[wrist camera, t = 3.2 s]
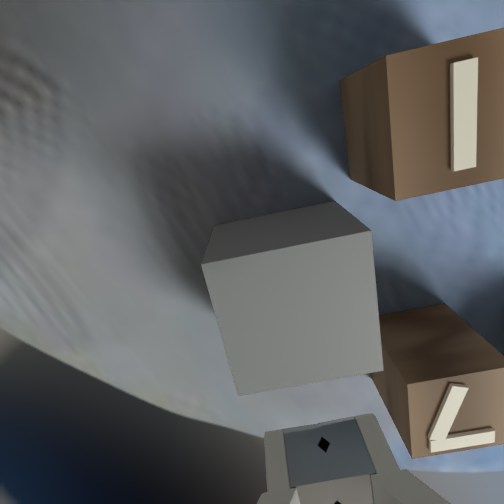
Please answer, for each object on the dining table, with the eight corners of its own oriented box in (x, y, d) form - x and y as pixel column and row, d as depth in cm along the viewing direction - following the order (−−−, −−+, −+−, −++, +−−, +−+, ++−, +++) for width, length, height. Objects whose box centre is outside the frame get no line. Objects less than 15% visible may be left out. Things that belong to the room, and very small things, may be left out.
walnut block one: (440, 57, 16) (546, 16, 11) (441, 159, 18) (533, 173, 12) (339, 80, 17) (388, 54, 11) (350, 179, 18) (397, 202, 13)
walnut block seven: (444, 302, 21) (518, 368, 15) (444, 366, 23) (512, 446, 17) (365, 317, 21) (409, 387, 16) (372, 378, 23) (413, 462, 17)
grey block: (334, 200, 19) (371, 230, 13) (347, 306, 21) (383, 370, 16) (214, 225, 19) (200, 264, 14) (240, 326, 22) (238, 395, 16)
